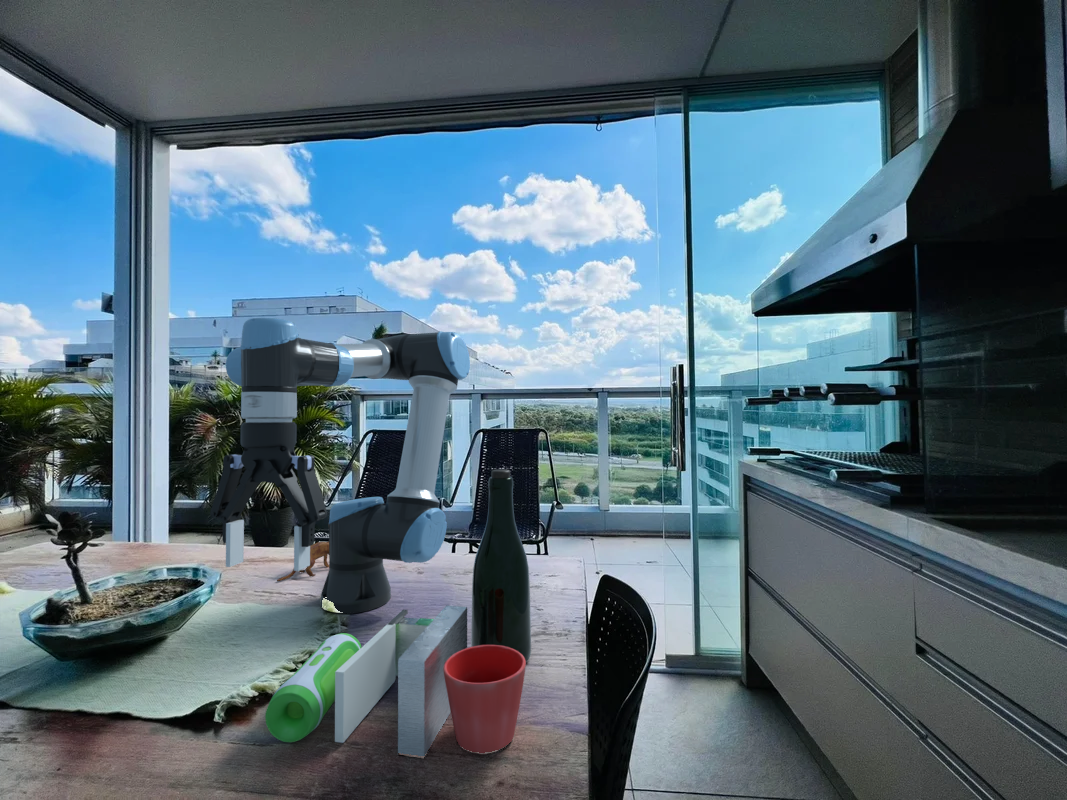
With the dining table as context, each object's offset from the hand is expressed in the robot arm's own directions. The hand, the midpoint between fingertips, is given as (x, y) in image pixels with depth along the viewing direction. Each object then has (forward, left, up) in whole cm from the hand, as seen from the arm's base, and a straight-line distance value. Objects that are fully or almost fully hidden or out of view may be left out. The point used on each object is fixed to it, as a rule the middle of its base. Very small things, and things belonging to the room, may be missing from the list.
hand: (267, 566), depth 75 cm
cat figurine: (-30, +54, -20) cm, 65 cm away
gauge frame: (+22, +2, -20) cm, 29 cm away
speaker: (+9, 0, -20) cm, 22 cm away
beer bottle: (+32, +18, -20) cm, 42 cm away
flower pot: (+35, -2, -20) cm, 40 cm away
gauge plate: (+17, +3, -20) cm, 26 cm away
